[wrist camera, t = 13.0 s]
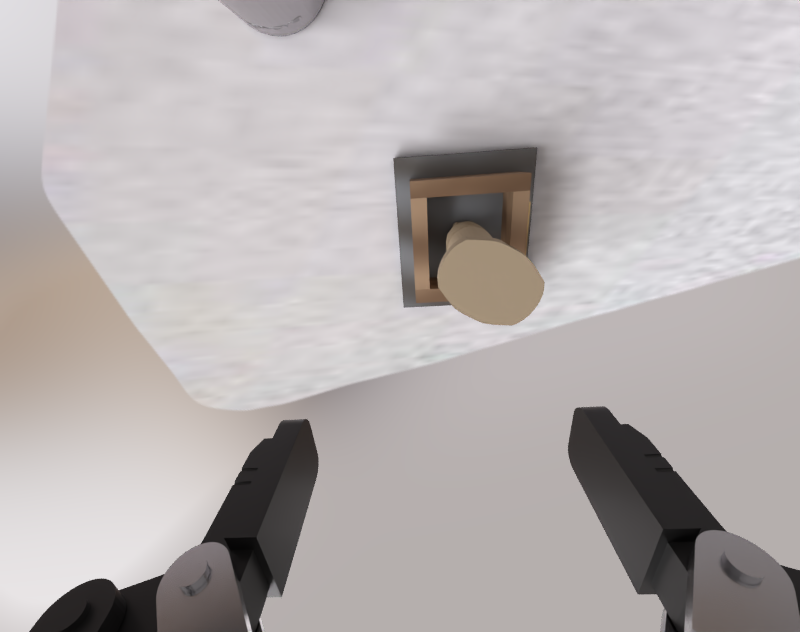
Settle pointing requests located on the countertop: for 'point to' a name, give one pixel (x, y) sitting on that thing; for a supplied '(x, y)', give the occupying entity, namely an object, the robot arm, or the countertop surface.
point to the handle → (487, 277)
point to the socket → (458, 209)
